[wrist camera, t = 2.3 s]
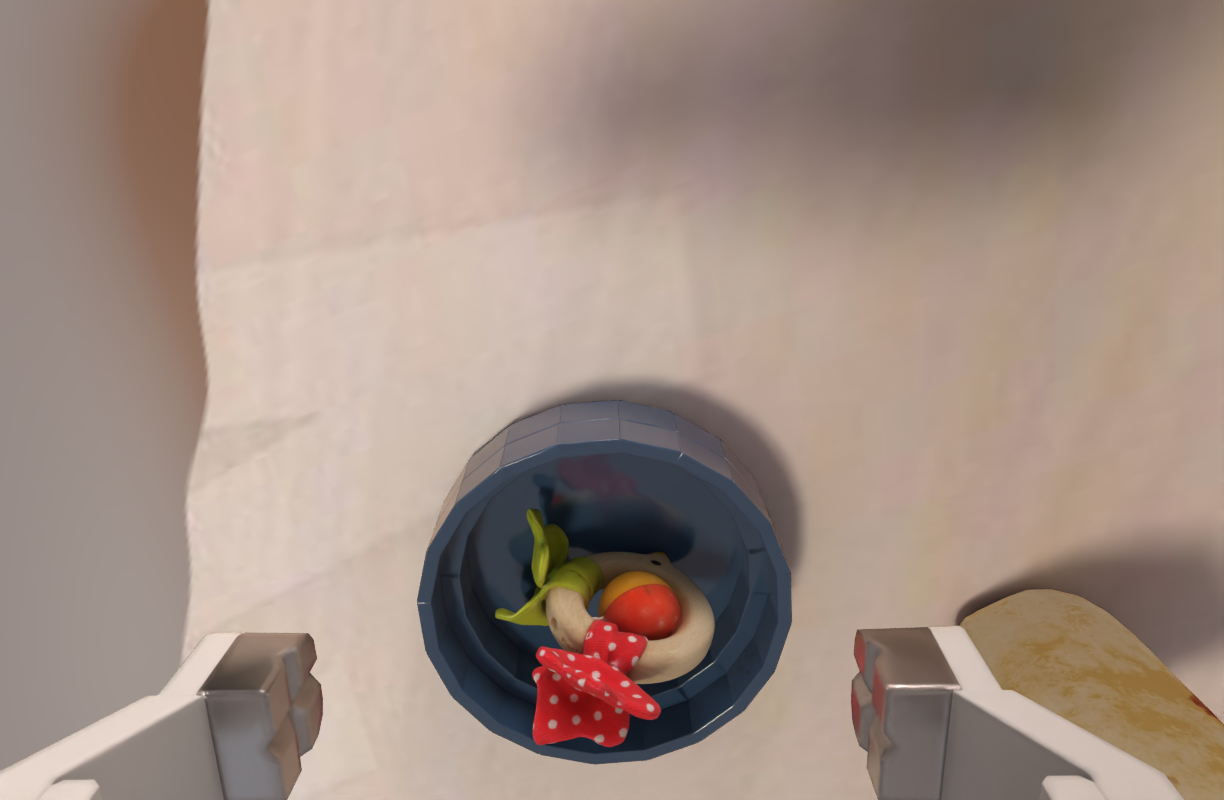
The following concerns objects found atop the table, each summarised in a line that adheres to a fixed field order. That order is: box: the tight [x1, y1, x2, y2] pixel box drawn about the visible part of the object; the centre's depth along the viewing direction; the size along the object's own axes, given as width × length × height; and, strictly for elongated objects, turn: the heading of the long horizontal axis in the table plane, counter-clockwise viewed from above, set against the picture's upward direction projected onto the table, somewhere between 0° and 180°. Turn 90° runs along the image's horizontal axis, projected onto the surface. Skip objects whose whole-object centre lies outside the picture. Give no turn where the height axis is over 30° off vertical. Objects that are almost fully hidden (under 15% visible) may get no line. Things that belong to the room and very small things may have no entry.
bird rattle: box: [495, 509, 715, 747], centre depth 39 cm, size 6×11×9 cm
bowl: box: [417, 400, 792, 764], centre depth 41 cm, size 16×16×5 cm
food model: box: [960, 589, 1224, 800], centre depth 36 cm, size 10×7×20 cm
